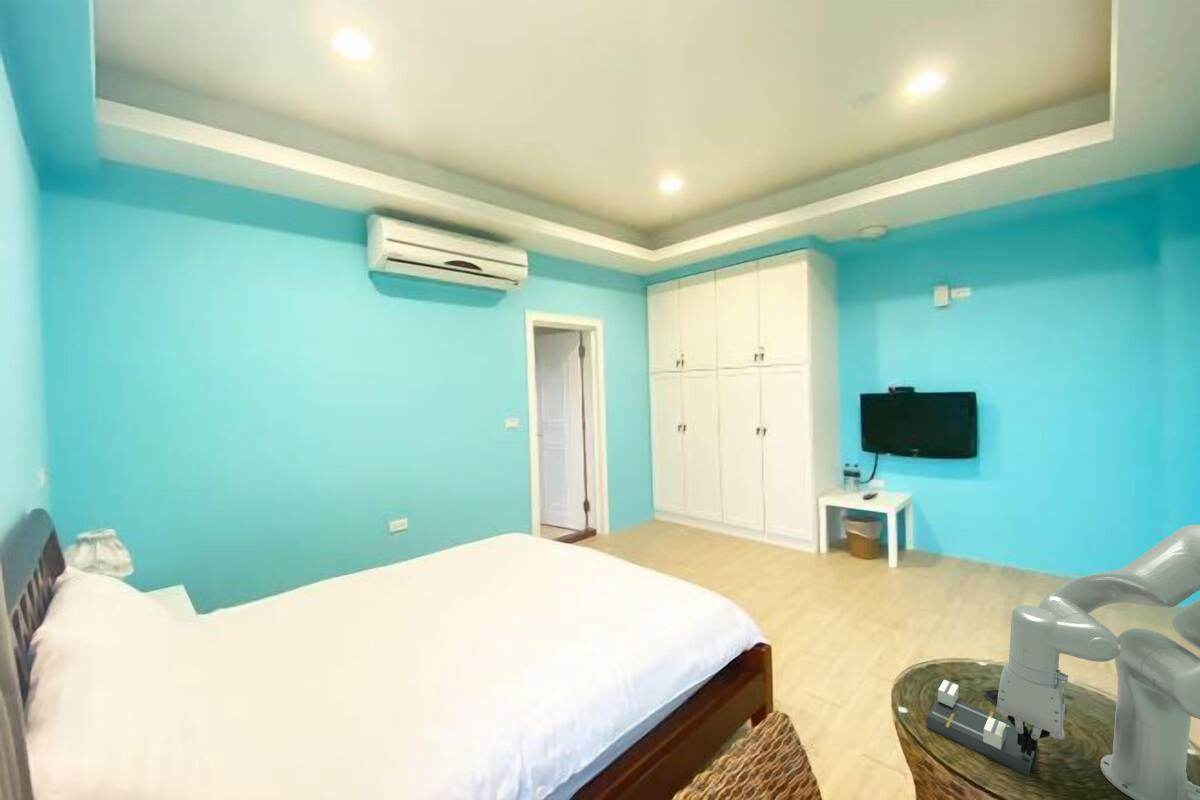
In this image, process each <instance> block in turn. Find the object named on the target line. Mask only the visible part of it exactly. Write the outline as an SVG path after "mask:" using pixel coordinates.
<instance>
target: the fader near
mask: <svg viewBox="0 0 1200 800" xmlns="http://www.w3.org/2000/svg"><path fill="white" fill-rule="evenodd" d="M1005 737H1006V724H1005V723H1003V722H1001V721H999V720H997V719H994V718H991V717H988V720H987V722H986V725H985V727H984V735H983V742H985V743H987V744H990V745H992V746H994V747H996V748H998V749H1000V750H1001V748H1002V745H1003V742H1004V740H1005Z"/></svg>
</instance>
